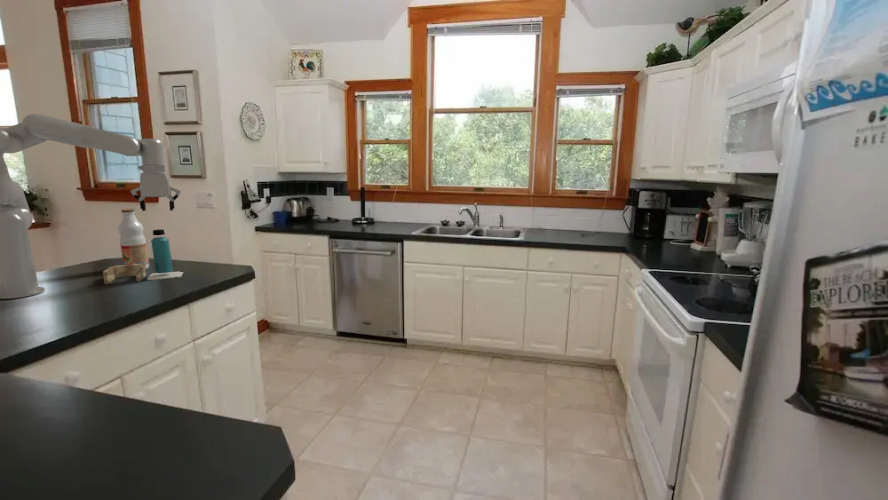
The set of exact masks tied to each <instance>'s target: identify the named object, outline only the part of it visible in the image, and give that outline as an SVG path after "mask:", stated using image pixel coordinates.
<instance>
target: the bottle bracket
mask: <svg viewBox="0 0 888 500" xmlns="http://www.w3.org/2000/svg"><path fill="white" fill-rule="evenodd" d="M146 275H147V268H146V267H145V264H135V265H124V264H122V265H111V266H109V267H108V268H106V269H105V270H103V271H102V276H103V283H104V285H109V284H111V282H113V281H114V280H115V279H116V278H127V277H136V278H135V279H136V282H141V281H142V280H143V279H144V278H145V277H146Z"/></svg>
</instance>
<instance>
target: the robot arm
mask: <svg viewBox="0 0 888 500" xmlns="http://www.w3.org/2000/svg"><path fill="white" fill-rule="evenodd" d="M47 141H51V142H56V143H60V144H65V145H69V146H70V145H71V146H74V147H78V148H85V149H97V150H100V151H106V152H111V153H115V154H119V155H123V156H125V157H140V156H141V164H142V165H140V166H137V169H138V170H139V171H140V170H141V171H142V172H140V176H139V177H140V178H139V186H138V187H135V188H133V189H131V190H130V193H131V194H132V196H133V197H134V198H135V199H136V200H138V202H139V206H140V210H142V211H141V212H145V211H147V207H146V201H145V200H146V198H167V199H168V200H169V202H168V203H169V211H170V212H173V211H174V209H175V201H176V199H178V198H179V196H180V195H181V190H179V189H177V188H175V187H173V186H171V183H170V178H169V176H168V173H167V172H166V170H165V169H166V168H165V167H166V166H165V156H164V147H163V145H164V144H163V142H162V140H160V139H156V138H142V139H139V138H134V137H132V136H129V135H125V134H121V133H118V132H113V131H110V130H105V129H100V128H96V127H92V126H90V125H86V124H81V123H78V122H74V121H69V120H65V119H61V118H57V117H53V116H49V115H45V114H41V113H29V114H27V115H25V116H24V118H22V122H19V123H17V124H14V125H12V126H9V127H6V128H5V127H0V300H1V299H3V300H5V299H6V300H7V299H18V298H19V299H20V298H25V297H26V298H27V297H31V296H35V295H39V294H42V293H44V292H45V291H46V289H45V287H43V286H39V282H38V277H37V270H36V264H35V259H34V252H33V248H32V243H31V238H30V235H29V231H28V229H30V228H31V226H32V224H33V216H32V213H31V210H30V207H29V204H28V201H27V199H26V195H25V193H24V190H23V188H22V187H21V185H20V184H18V183H17V182H15V181H14V180H12V178H11V175H10V172H9V170H8V169H9V168H8V165H7V163H6V162H5V157H4V155H5V154H16V153H20V152H23V151H25V150H27V149H30V148H31V147H34V146H37V145H39V144H43V143H45V142H47ZM139 191H140V195H141V196H139V194H137V192H139ZM172 192H175V194H174V195H173V196H172Z"/></svg>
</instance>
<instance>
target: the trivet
mask: <svg viewBox="0 0 888 500" xmlns="http://www.w3.org/2000/svg"><path fill="white" fill-rule="evenodd" d="M183 274H184V272H180V271H172V272H168V273H157V272H155V273H151V274H150V275H149V276H148V277H147V278H146V280H147V281H151V280H153V281H156V280H163V279H164V280H165V279H166V280H167V279H174V278H175V277H177V278H182V275H183ZM175 279H176V278H175Z"/></svg>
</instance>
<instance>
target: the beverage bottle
mask: <svg viewBox="0 0 888 500" xmlns="http://www.w3.org/2000/svg"><path fill="white" fill-rule="evenodd" d="M165 233H166V232H165V230H164V229H154V230H152V235H153V236H155V237H153V238H152V239H151V241H150V242H151V248H152V254H153V255H152V256H153V264H154V270H155V273H168V272H174V263H173V259H172V253H171V248H170V241H169V238H168V237H166V236H163V235H165Z"/></svg>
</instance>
